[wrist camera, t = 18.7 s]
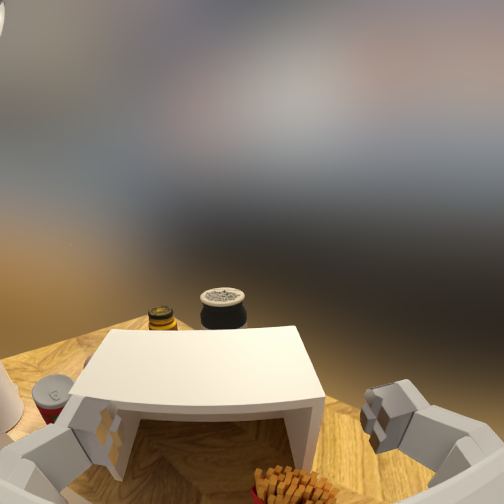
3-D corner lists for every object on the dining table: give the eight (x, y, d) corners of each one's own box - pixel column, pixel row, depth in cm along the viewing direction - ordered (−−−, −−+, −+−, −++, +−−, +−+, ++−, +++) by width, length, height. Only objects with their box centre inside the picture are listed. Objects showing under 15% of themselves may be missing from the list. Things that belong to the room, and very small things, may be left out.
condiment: (174, 370, 56) (165, 319, 53) (141, 361, 59) (131, 313, 56) (189, 353, 63) (183, 305, 60) (157, 346, 65) (150, 300, 63)
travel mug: (241, 395, 49) (236, 307, 45) (201, 386, 51) (190, 301, 47) (253, 370, 57) (251, 289, 52) (217, 364, 59) (210, 285, 55)
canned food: (76, 462, 29) (46, 413, 26) (50, 437, 32) (23, 388, 30) (107, 437, 36) (85, 388, 33) (79, 417, 39) (58, 368, 36)
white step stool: (114, 480, 28) (68, 393, 24) (135, 413, 43) (111, 329, 38) (307, 482, 30) (325, 396, 25) (289, 412, 44) (295, 325, 40)
